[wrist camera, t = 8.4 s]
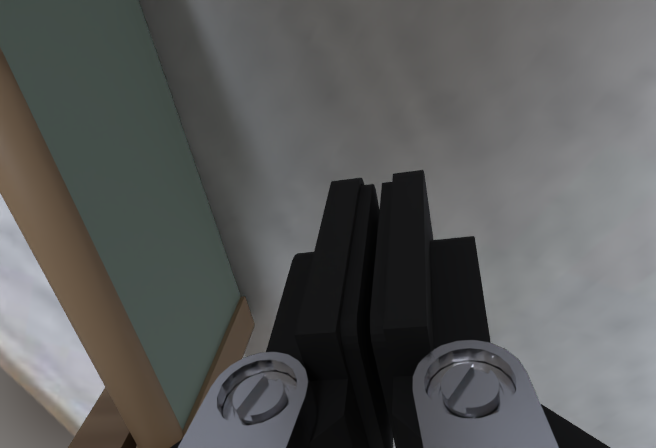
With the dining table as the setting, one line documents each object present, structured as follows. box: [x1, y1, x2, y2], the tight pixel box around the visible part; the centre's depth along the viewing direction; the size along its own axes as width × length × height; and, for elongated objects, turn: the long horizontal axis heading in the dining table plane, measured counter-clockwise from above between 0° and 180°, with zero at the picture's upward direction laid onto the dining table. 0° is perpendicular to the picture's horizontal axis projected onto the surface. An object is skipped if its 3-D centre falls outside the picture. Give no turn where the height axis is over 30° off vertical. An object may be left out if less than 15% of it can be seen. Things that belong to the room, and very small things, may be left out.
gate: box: [0, 0, 255, 448], centre depth 18 cm, size 15×2×8 cm, turn 11°
